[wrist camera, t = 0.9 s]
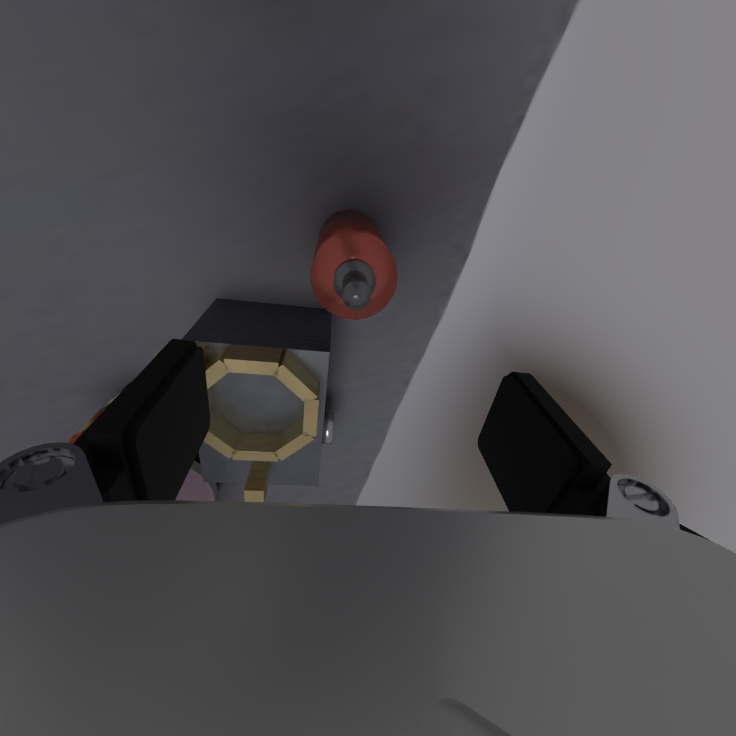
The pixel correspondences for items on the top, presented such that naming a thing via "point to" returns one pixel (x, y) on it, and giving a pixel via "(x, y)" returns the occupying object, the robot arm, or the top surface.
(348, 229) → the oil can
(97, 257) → the top surface
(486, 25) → the top surface
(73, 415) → the top surface
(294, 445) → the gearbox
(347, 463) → the top surface
